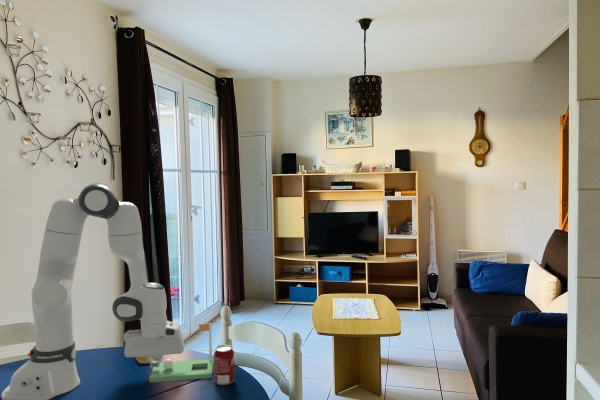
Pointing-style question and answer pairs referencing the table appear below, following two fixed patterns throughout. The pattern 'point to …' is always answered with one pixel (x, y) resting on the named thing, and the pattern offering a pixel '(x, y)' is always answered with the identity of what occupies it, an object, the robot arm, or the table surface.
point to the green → (186, 366)
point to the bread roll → (145, 359)
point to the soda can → (224, 365)
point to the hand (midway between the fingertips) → (155, 366)
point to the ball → (168, 364)
